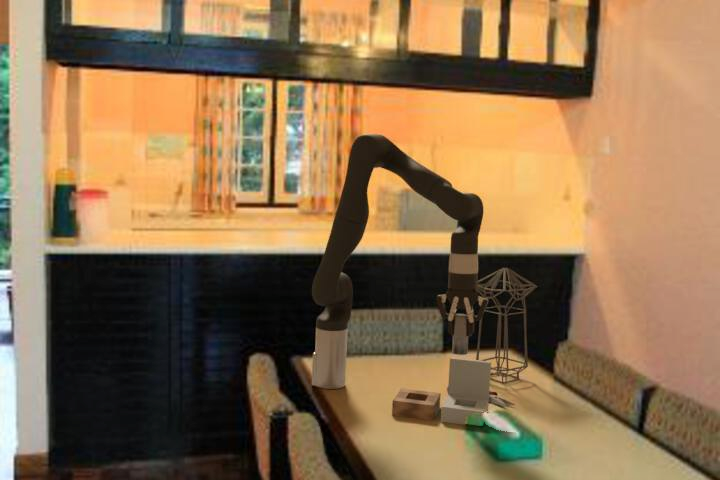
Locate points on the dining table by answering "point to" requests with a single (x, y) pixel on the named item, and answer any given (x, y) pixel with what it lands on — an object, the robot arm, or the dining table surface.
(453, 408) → the block
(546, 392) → the dining table surface
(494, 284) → the geometric lantern
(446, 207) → the robot arm
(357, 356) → the dining table surface
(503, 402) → the pliers
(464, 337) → the steel rod
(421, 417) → the socket block
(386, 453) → the dining table surface
